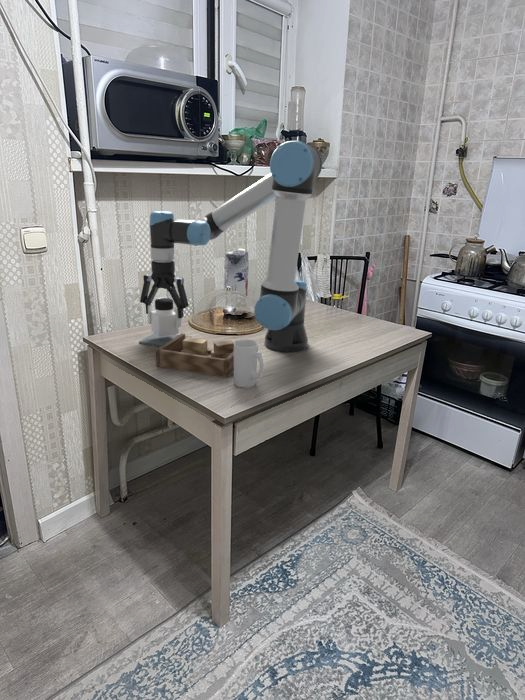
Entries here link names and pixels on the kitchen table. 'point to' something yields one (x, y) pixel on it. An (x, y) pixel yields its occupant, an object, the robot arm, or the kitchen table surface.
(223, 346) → the offcut upper
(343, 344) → the kitchen table surface
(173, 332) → the medicine bottle
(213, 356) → the offcut lower
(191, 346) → the offcut
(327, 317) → the kitchen table surface
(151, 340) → the mat
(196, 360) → the tray
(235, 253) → the juice carton
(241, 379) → the mug
